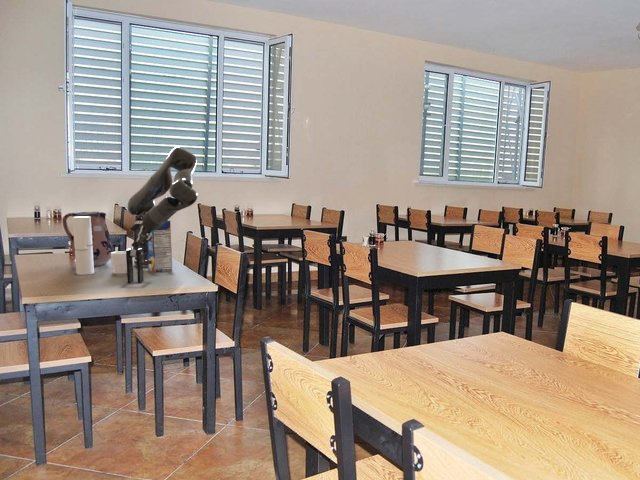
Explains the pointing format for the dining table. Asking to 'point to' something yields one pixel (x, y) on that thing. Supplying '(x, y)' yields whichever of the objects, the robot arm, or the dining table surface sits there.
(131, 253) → the lever
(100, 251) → the ceramic pitcher
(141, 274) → the bracket
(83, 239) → the cylindrical container
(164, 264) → the juice carton
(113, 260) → the white cup
